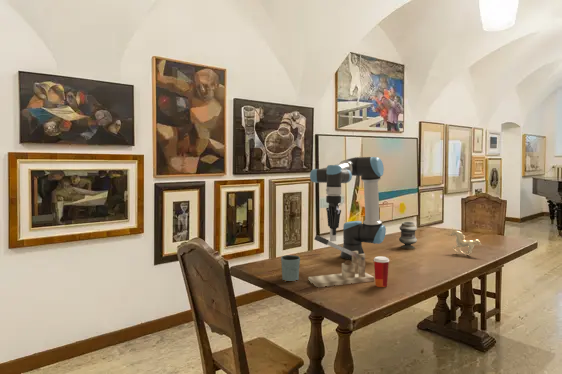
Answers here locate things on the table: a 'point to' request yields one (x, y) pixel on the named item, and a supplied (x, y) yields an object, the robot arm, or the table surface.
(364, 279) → the press base
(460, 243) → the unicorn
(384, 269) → the paper cup
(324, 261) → the table surface
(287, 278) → the blue grey planter pot
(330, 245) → the lever
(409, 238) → the apothecary jar
